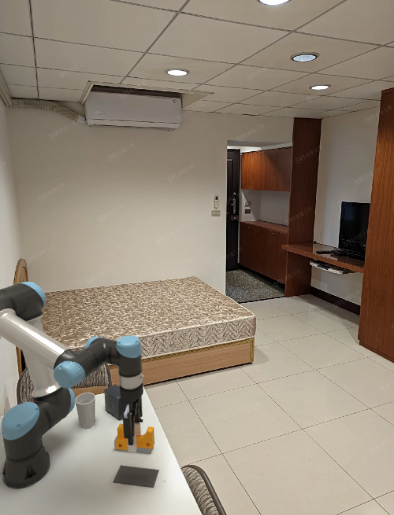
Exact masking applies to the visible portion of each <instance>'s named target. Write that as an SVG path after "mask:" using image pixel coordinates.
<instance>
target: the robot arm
mask: <svg viewBox="0 0 394 515" xmlns="http://www.w3.org/2000/svg"><path fill="white" fill-rule="evenodd" d="M46 303H47V297H46V294H45V291H44V289H42V287H41V286H40V285H38V284H37V283H35V282H32V281H24V282H18V283H15V284H12V285H10V286H9V285H8V286H6V287H3V288H0V337H1V338H3V339H5V340H6V341H7V342H9V343H11V344H12V345H14V346H15V347H17V348H18V349H20V350H21V351H22V354H23V357H24V360H25V364H26V366H27V370H28V373H29V376H30V379H31V383H32V386H33V390H32V391H31V396H30V397H31V400H32V401H25V402H22V403H21V404H20V403H18V404H16V405H14V406H13V407H11V408H10V409H9V410H7V411H6V413H5V414H4V415H3V417H2V420H1V435H2V440H3V448H4V453H5V460H4V464H3V468H2V480H3V483H4V485H5V486H7V487H8V488H11V489H23V488H27V487H30V486H32V485H34V484H36V483H37V482H39V481H40V480H42V479H43V478H44V477H45V476H46V475H47V474H48V472H49V470H50V467H51V456H50V454H49V453H48V451H47V450H46V447H45V446H44V443H43V436H44V435H45V434H46V433H47V432H48V431H50V430H51V429H52V428H54V427H55V426H56V425H57V424H58V423H60V422H61V421H62V420H64V419H65V418H66V417H68V415H69V414H70V413H71V412H73V410H74V408H75V406H76V403H75V399H76V395H75V392H74V391H73V387H75V386H76V385H78V384H79V383H81V382H83V381H84V380H85V379H86V378H88V377H89V376H90V375H91V374H93V373H94V372H95V371H97V370H98V369H100V368H101V367H102V366H104V365H105V364H106V365H107V364H109V365H111V366H112V365H113V366H117V370H118V384H119V385H118V386H119V387H120V396H121V398H122V399H124V400H125V412H122V424H123V430H124V438H126V439H127V443H128V453H136V451H137V448H136V435H137V436H141V435H142V429H141V428H142V425H141V424H142V423H144V419H143V399H142V398H143V394H144V383H143V380H144V379H143V378H145V375H144V374H143V364H142V363H143V362H142V361H143V359H142V358H143V357H142V356H143V355H142V354H143V349H142V345H141V340H140V338H139V337H138V336H136V335H123V336H121V337H118V339H117V340H115V339H110V338H107V337H101V336H91V337H90V338H89V339H88V340H87V342H86V343H85V345H84V348H83V349H82V350H81V351H78V352H76V350H75V351H74V350H72V349H71V348H69V347H68V346H66V345H64V344H63V343H62V342H60V341H58V340H56V339H55V338H53V337H51V336H50V335H49V334H46V333H45V332H44V328H43V325H42V320H41V319H42V317H43V316H44V313H43V310H42V309H44V307H45V306H46ZM136 454H137V453H136Z"/></svg>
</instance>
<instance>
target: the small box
mask: <svg viewBox="0 0 394 515" xmlns="http://www.w3.org/2000/svg"><path fill="white" fill-rule="evenodd" d="M119 386H120V385H117V384H113V385H111V386H108V387H107V388H105V389H103V392H104V406H105V409H104V410H105V412H107V414H109V415H111V416H112V417H114V418H115V419H117V420H118V421H121V420H123V418H122V412H125V400H124V399H122V398H121V396H120V387H119Z"/></svg>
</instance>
